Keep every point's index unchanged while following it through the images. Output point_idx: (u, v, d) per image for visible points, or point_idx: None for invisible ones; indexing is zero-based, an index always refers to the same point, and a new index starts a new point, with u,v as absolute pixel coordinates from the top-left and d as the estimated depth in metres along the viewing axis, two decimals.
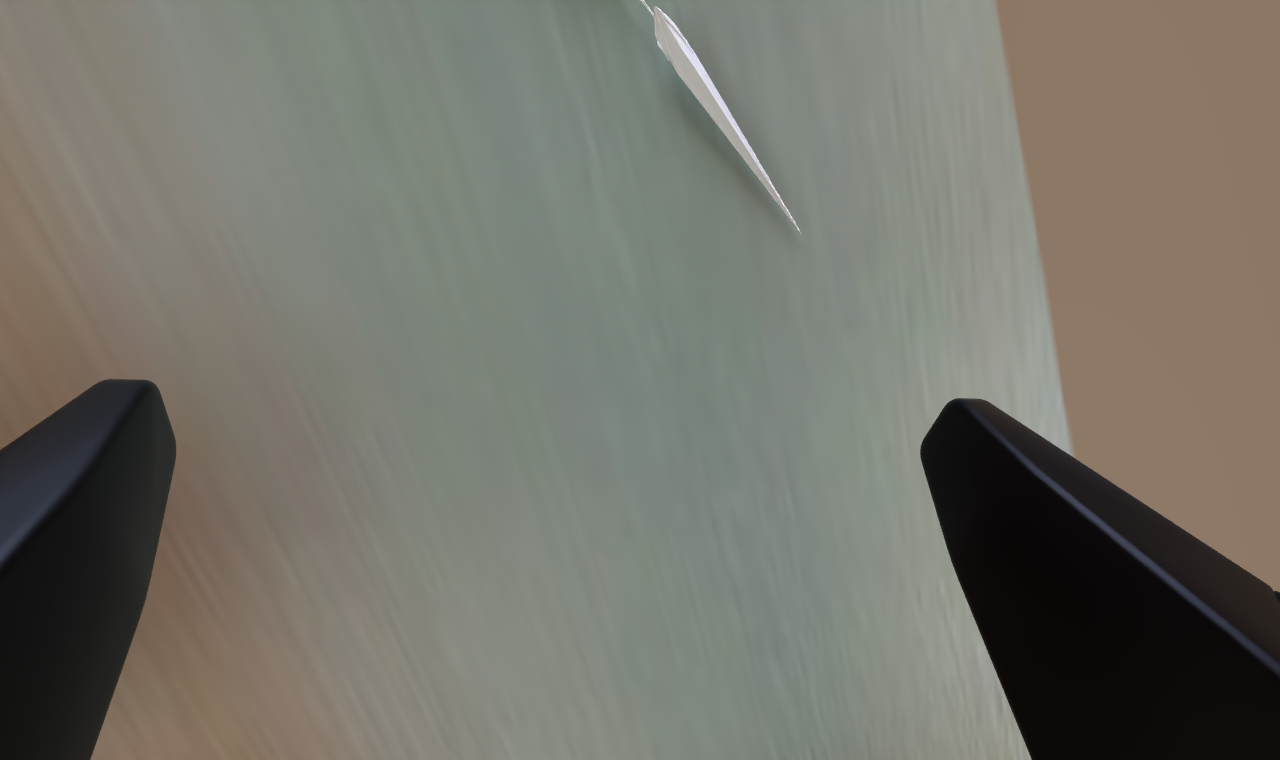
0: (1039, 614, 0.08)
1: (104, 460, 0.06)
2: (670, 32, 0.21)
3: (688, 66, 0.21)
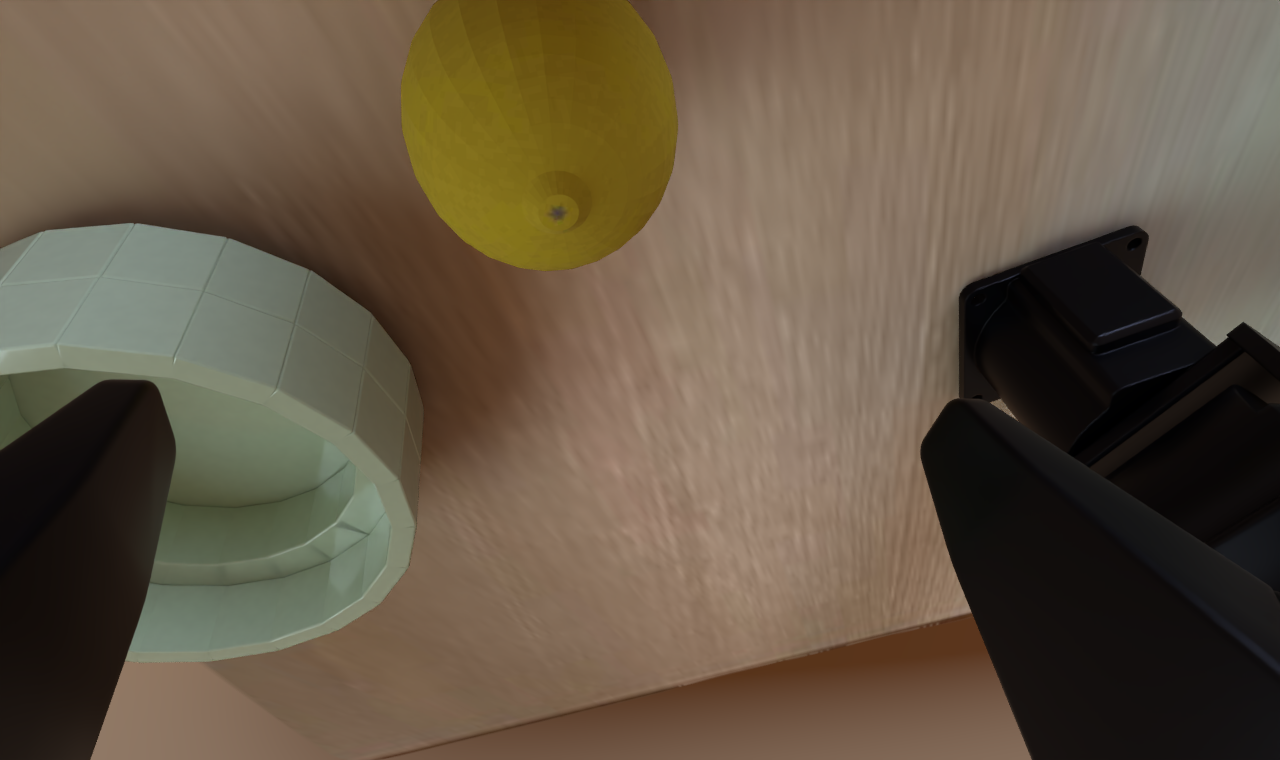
0: (1039, 613, 0.08)
1: (103, 459, 0.06)
2: None
3: None
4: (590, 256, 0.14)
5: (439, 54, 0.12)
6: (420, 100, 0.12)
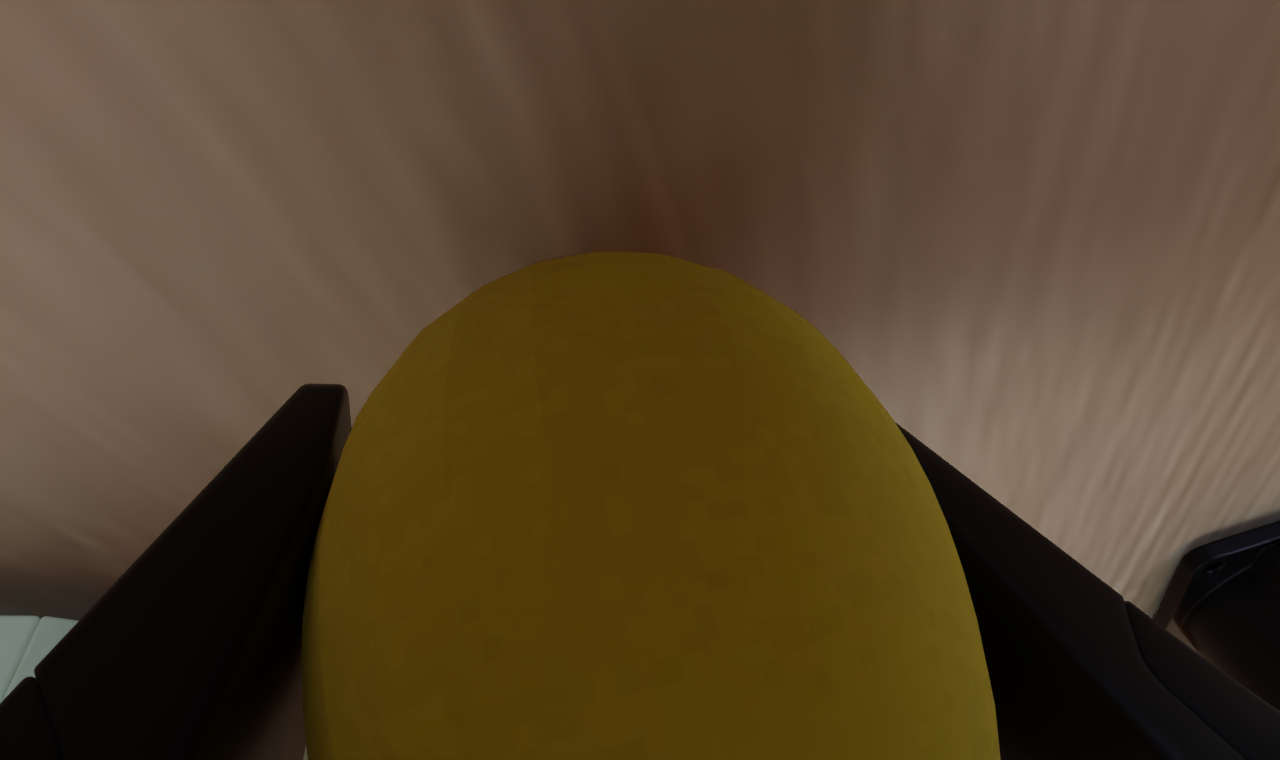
0: None
1: (329, 459, 0.06)
2: None
3: None
4: None
5: (387, 695, 0.04)
6: None
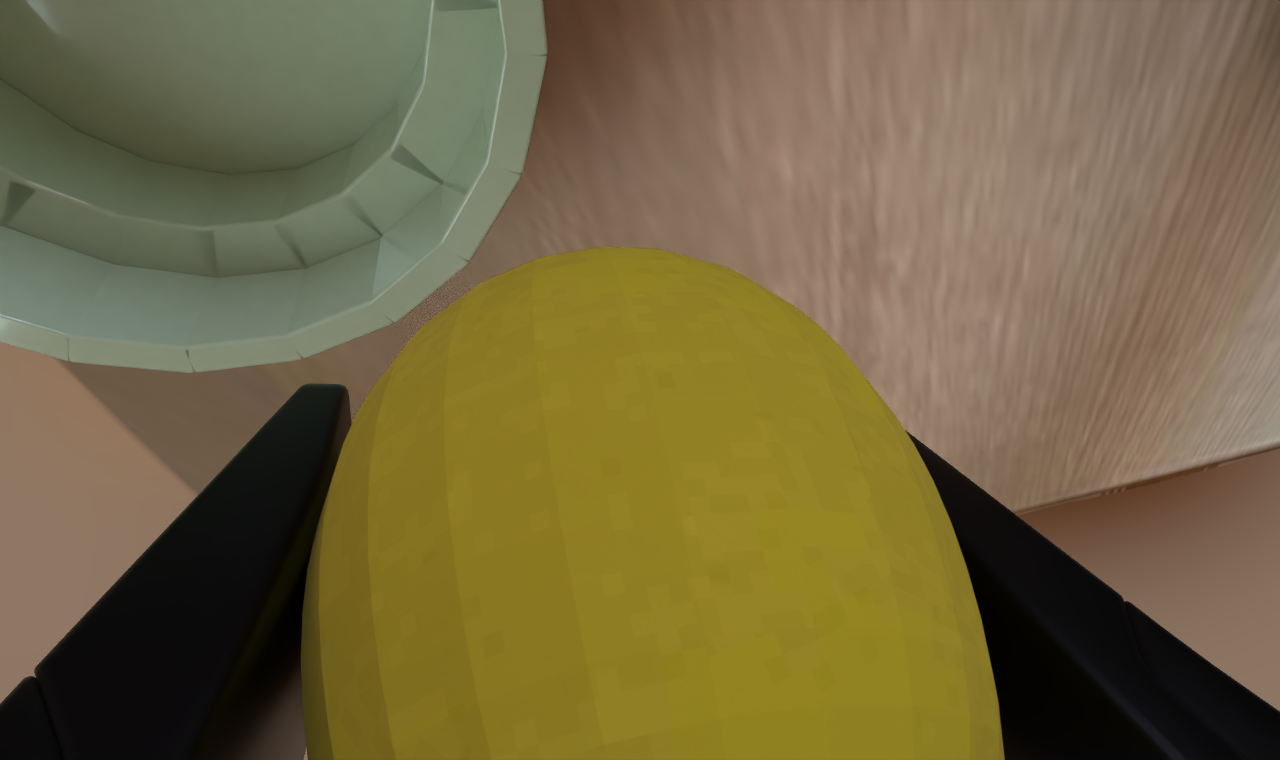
0: None
1: (330, 459, 0.06)
2: None
3: None
4: None
5: (387, 693, 0.04)
6: None
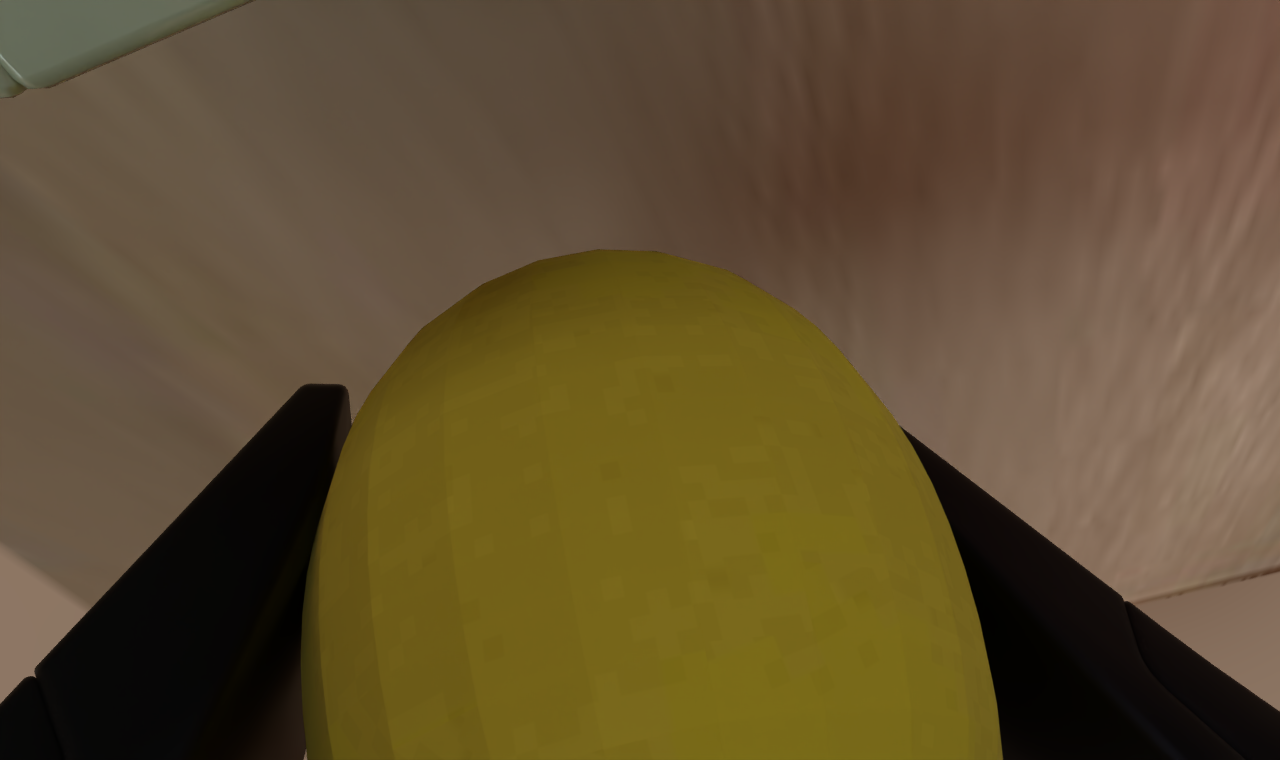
0: None
1: (329, 459, 0.06)
2: None
3: None
4: None
5: (385, 696, 0.04)
6: None
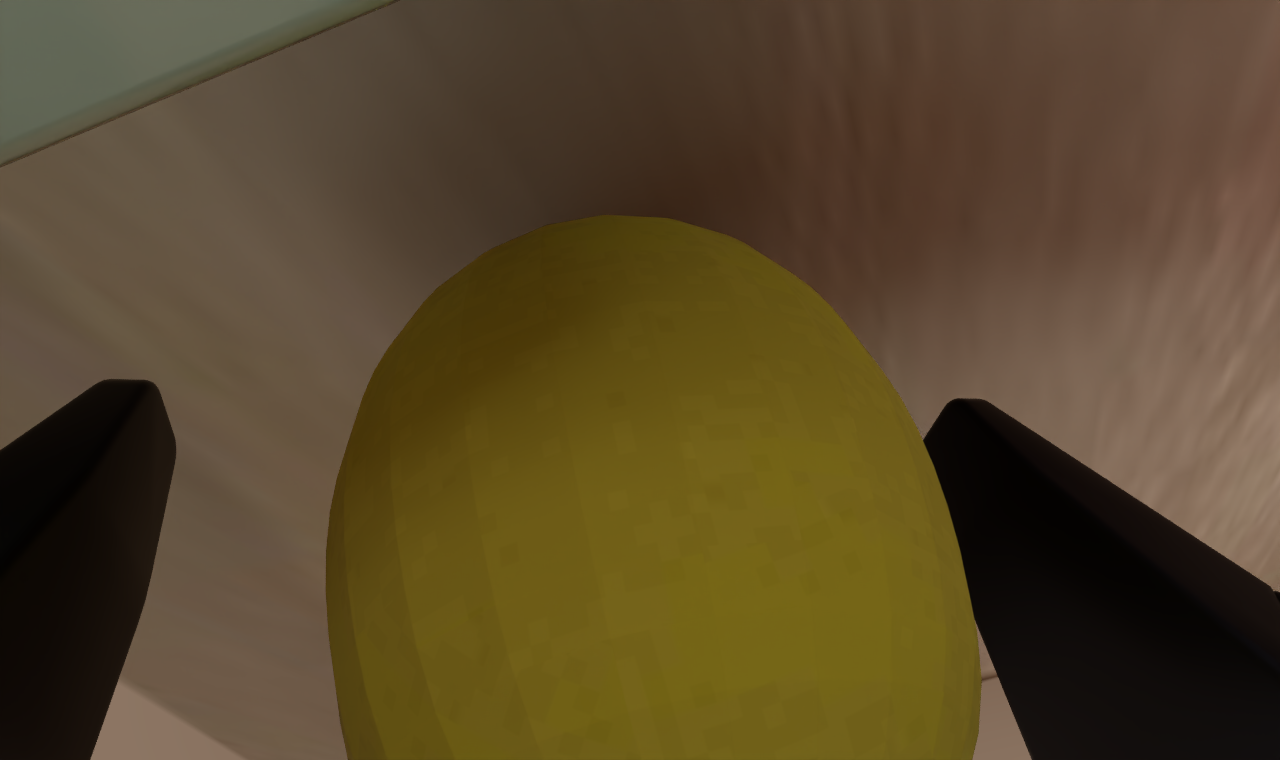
0: (1039, 614, 0.08)
1: (104, 460, 0.06)
2: None
3: None
4: None
5: (410, 603, 0.04)
6: (358, 700, 0.05)
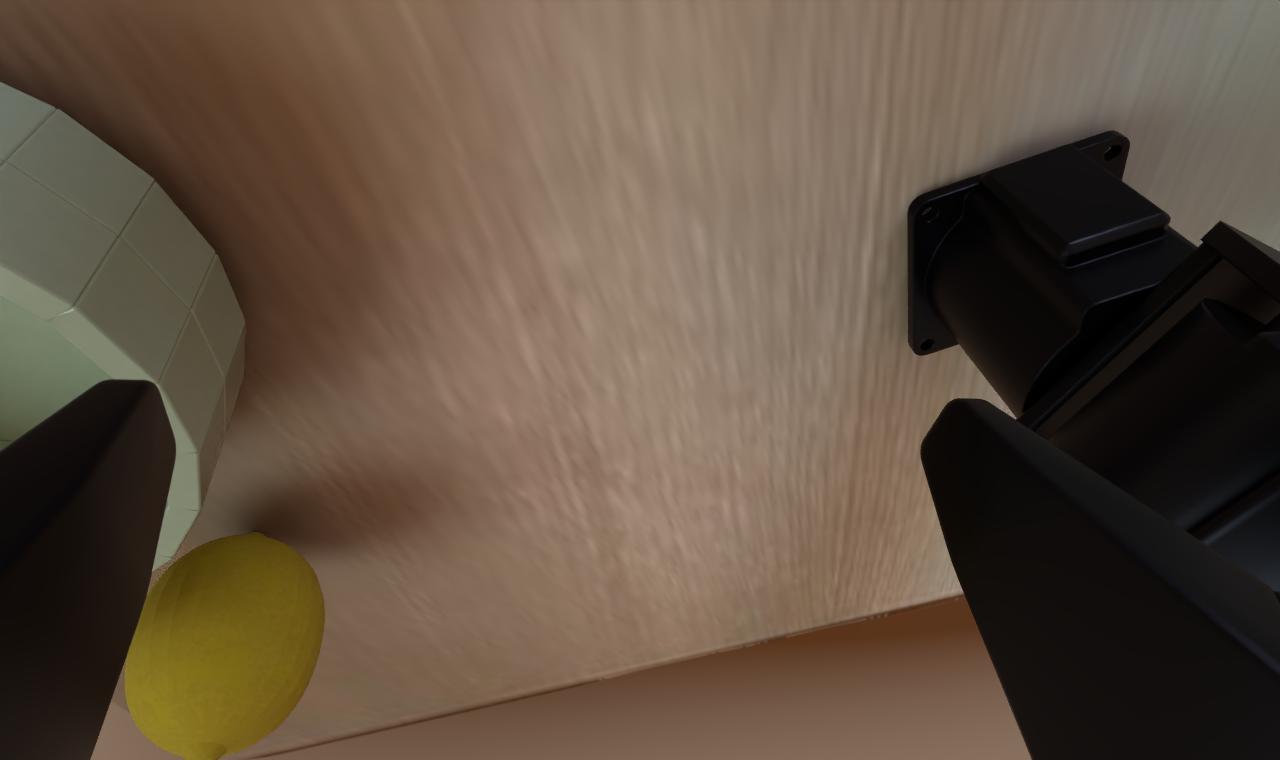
0: (1039, 614, 0.08)
1: (104, 459, 0.06)
2: None
3: None
4: None
5: (135, 663, 0.21)
6: (126, 684, 0.21)
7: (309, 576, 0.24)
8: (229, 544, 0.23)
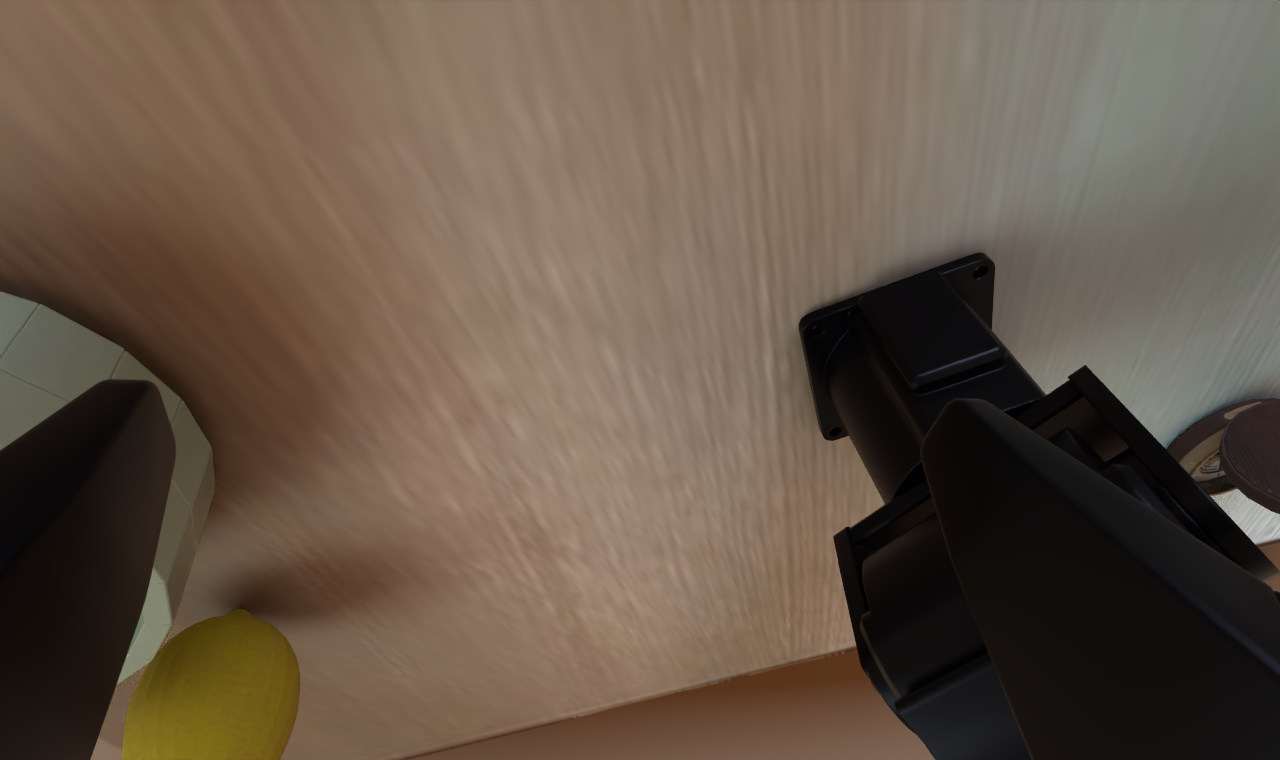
0: (1039, 614, 0.08)
1: (103, 460, 0.06)
2: None
3: None
4: None
5: (129, 741, 0.24)
6: (122, 758, 0.24)
7: (284, 652, 0.27)
8: (212, 627, 0.27)
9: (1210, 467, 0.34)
